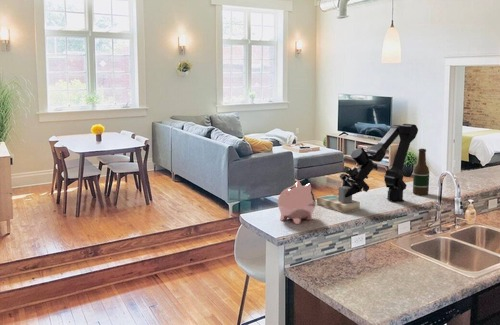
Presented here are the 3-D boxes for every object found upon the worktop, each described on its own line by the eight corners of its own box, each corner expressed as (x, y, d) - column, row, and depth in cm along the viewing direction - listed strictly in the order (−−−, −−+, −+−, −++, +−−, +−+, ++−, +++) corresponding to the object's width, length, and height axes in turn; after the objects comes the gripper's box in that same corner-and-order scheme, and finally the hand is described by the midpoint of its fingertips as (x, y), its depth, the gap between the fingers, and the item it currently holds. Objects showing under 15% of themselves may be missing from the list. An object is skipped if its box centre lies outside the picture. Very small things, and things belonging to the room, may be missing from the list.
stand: (359, 209, 224) (359, 201, 224) (344, 212, 219) (344, 205, 218) (331, 201, 240) (331, 194, 239) (316, 204, 235) (316, 197, 234)
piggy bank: (323, 218, 212) (323, 183, 209) (297, 227, 200) (297, 190, 197) (297, 211, 223) (297, 178, 220) (271, 220, 211) (270, 185, 208)
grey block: (347, 200, 228) (347, 185, 226) (352, 202, 223) (352, 188, 222) (338, 201, 226) (338, 186, 225) (343, 203, 222) (343, 188, 221)
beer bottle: (412, 195, 248) (413, 149, 244) (413, 191, 256) (414, 147, 251) (428, 196, 246) (430, 150, 241) (428, 192, 253) (430, 148, 248)
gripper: (343, 157, 231) (322, 181, 230) (363, 163, 214) (341, 189, 212) (357, 171, 235) (337, 195, 234) (378, 178, 218) (357, 204, 216)
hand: (342, 195), depth 224 cm, fingers closed on grey block, 5 cm apart
